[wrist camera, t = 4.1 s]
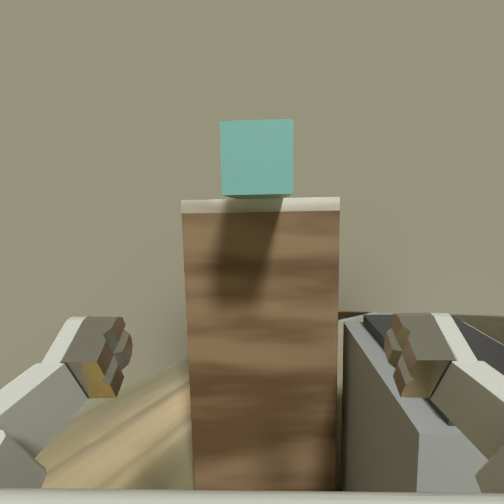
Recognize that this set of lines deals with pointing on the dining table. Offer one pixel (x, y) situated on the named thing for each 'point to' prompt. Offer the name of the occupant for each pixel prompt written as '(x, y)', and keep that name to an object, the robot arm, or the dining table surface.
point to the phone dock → (402, 420)
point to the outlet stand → (262, 341)
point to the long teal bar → (257, 158)
